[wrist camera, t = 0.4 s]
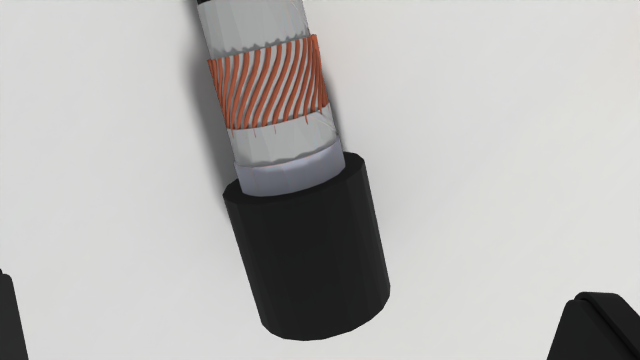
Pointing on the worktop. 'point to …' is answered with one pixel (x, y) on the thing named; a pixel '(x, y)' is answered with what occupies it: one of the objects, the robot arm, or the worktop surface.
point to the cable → (292, 175)
